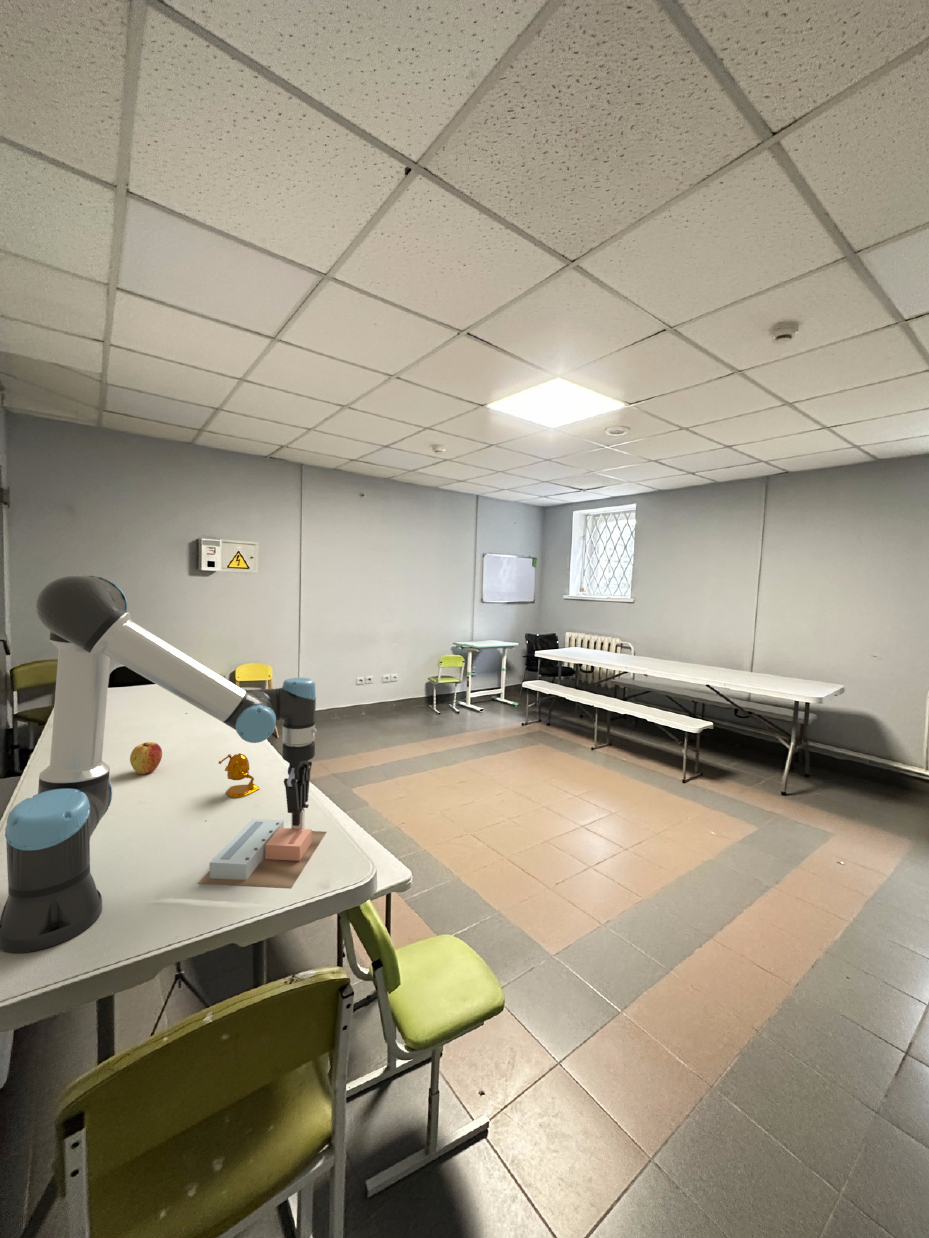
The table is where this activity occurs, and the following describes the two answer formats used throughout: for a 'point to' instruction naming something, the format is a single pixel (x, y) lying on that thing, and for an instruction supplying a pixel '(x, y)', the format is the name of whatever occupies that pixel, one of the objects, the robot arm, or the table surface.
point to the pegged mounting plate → (244, 850)
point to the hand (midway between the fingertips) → (297, 835)
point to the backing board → (273, 870)
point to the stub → (288, 844)
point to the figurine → (239, 776)
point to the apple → (146, 757)
